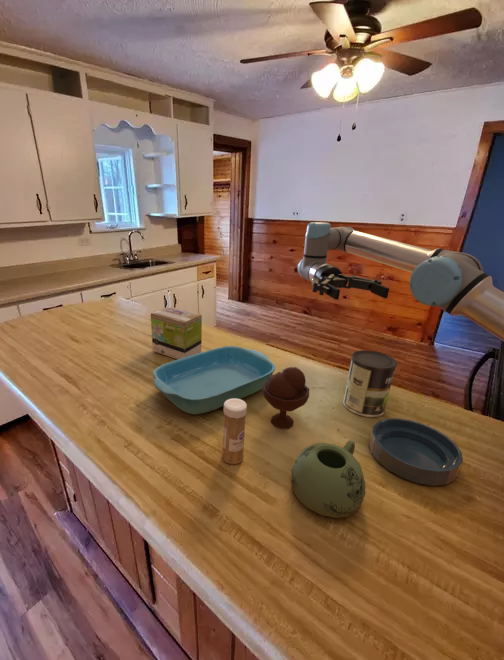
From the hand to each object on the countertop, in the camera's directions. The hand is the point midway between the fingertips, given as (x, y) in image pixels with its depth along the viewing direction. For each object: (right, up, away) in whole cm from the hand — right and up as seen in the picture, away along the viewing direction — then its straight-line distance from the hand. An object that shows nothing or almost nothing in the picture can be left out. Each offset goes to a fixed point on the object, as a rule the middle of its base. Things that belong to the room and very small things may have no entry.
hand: (362, 294), depth 87 cm
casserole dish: (-38, -26, +9) cm, 47 cm away
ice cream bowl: (-22, -32, -5) cm, 39 cm away
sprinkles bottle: (-35, -37, -16) cm, 54 cm away
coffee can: (+1, -30, +2) cm, 30 cm away
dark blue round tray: (+3, -37, -16) cm, 40 cm away
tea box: (-51, -17, +32) cm, 62 cm away
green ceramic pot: (-18, -40, -24) cm, 50 cm away
